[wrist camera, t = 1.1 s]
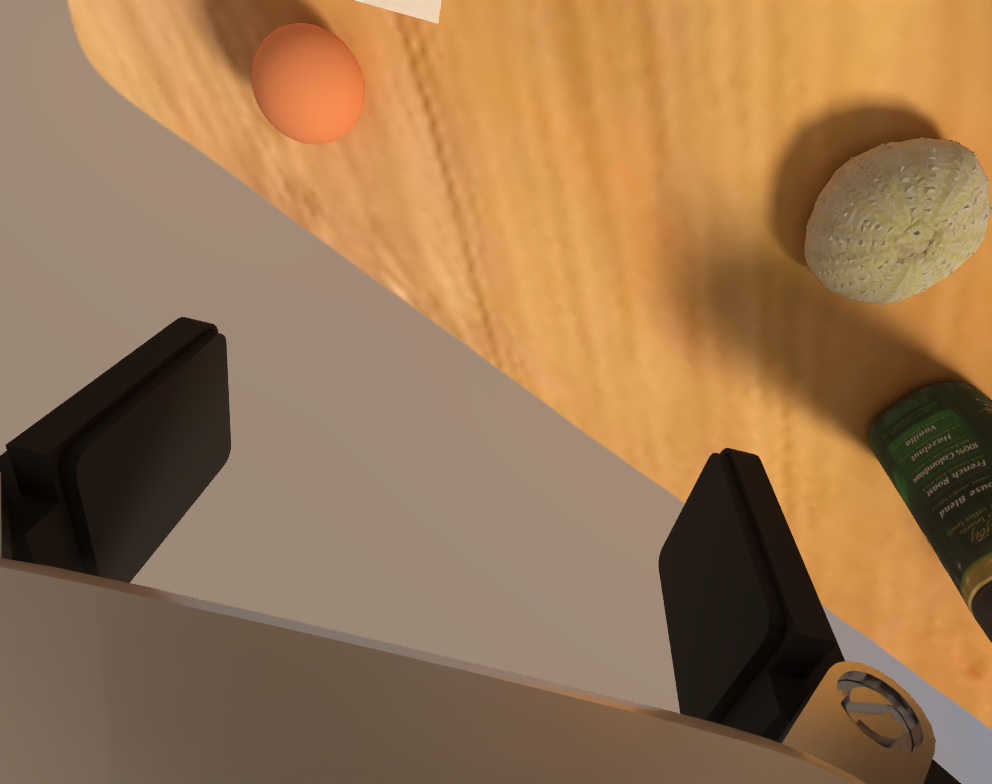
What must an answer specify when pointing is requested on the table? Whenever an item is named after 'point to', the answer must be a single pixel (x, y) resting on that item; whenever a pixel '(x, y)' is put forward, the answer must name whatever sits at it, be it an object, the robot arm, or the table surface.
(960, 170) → the sea urchin shell
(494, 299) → the table surface
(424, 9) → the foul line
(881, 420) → the coffee jar
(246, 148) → the table surface
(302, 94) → the ball
